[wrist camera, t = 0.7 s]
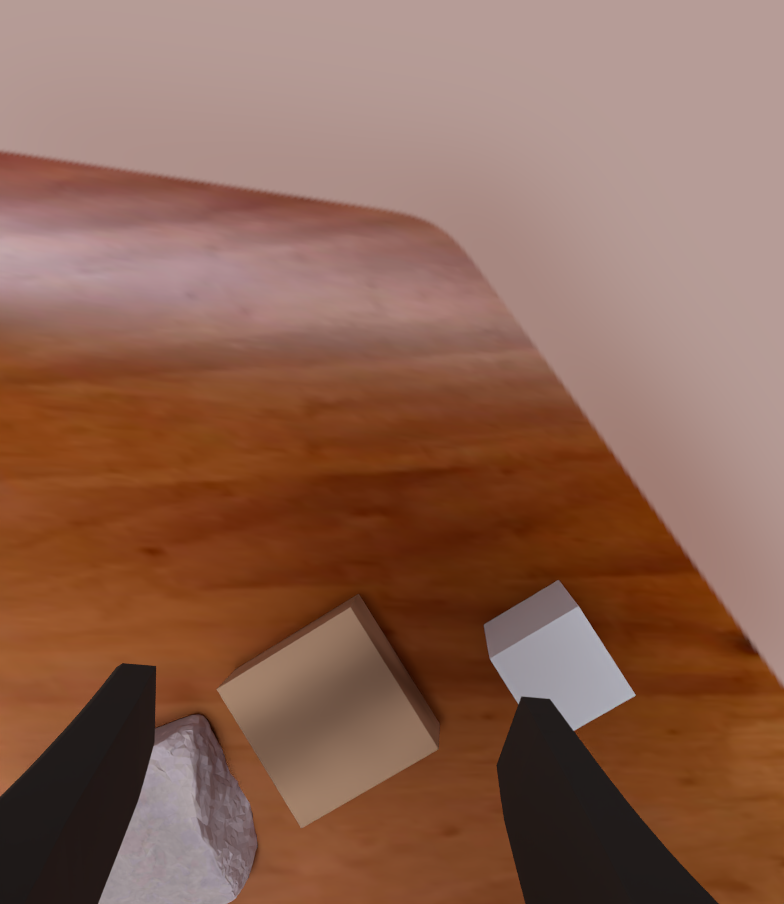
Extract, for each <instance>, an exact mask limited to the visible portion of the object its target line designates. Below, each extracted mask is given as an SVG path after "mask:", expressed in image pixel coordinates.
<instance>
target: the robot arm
mask: <svg viewBox="0 0 784 904" xmlns="http://www.w3.org/2000/svg"><path fill="white" fill-rule="evenodd" d="M155 696H156V666H148V665H136V664H124V663H122V664H121V665H119V666H118V667H116V669H115V670H114V671H113V672H112V674H111V675H110V676H109V678H108V679H107V680H106V681H105V683H104V684H103V685H102V686H101V688H100V689H99V690H98V691H97V693H96V694H95V695H94V696H93V697H92V699H91V700H90V701H89V702H88V703H87V705H86V706H85V707H84V708H83V709H82V710H81V712H80V713H79V714H78V715H77V716H76V717H75V719H74V720H73V721H72V722H71V723H70V724H69V725H68V727H67V728H66V729H65V730H64V731H63V732H62V733H61V734H60V735H59V736H58V737H57V739H56V740H55V741H54V742H53V743H52V744H51V745H50V746H49V747H48V748H47V749H46V750H45V752H44V753H43V754H42V755H41V756H40V757H39V758H38V759H37V760H36V761H35V762H34V763H33V764H32V765H31V767H30V768H29V769H28V770H27V771H26V772H25V773H24V774H23V775H22V776H21V777H20V778H19V779H18V780H17V781H16V782H15V783H14V784H13V785H12V786H11V787H10V788H9V789H8V790H7V791H6V792H5V793H4V794H3V795H2V796H0V904H98V903H99V900H100V898H101V895H102V893H103V890H104V888H105V885H106V882H107V880H108V877H109V875H110V872H111V870H112V867H113V865H114V862H115V859H116V857H117V854H118V852H119V849H120V847H121V844H122V842H123V839H124V836H125V834H126V831H127V829H128V826H129V823H130V821H131V818H132V816H133V813H134V811H135V808H136V805H137V803H138V800H139V797H140V793H141V790H142V786H143V783H144V779H145V776H146V772H147V769H148V765H149V761H150V757H151V754H152V750H153V746H154V743H155ZM497 772H498V779H499V787H500V795H501V802H502V808H503V815H504V821H505V825H506V829H507V833H508V837H509V841H510V845H511V849H512V853H513V857H514V861H515V865H516V869H517V873H518V877H519V880H520V884H521V888H522V892H523V896H524V900H525V904H718V903H717V902H716V901H715V900H714V899H713V897H712V896H711V895H710V894H709V893H708V892H707V891H706V890H705V889H704V888H703V887H702V886H701V885H700V884H699V883H698V882H697V881H696V880H695V879H694V878H693V877H692V876H691V875H690V873H689V872H688V871H687V870H686V869H685V868H684V867H683V866H682V865H681V864H680V863H679V862H678V861H677V859H676V858H675V857H674V856H673V855H672V854H671V853H670V852H669V851H668V849H667V848H666V847H665V846H664V845H663V844H662V842H661V841H660V840H659V839H658V838H657V837H656V835H655V834H654V833H653V832H652V831H651V830H650V828H649V827H648V826H647V825H646V824H645V823H644V821H643V820H642V819H641V818H640V817H639V815H638V814H637V813H636V812H635V811H634V809H633V808H632V807H631V806H630V804H629V803H628V802H627V801H626V799H625V798H624V797H623V795H622V794H621V793H620V792H619V790H618V789H617V788H616V787H615V785H614V784H613V783H612V781H611V780H610V779H609V778H608V776H607V775H606V774H605V772H604V771H603V770H602V768H601V767H600V766H599V765H598V763H597V762H596V761H595V759H594V758H593V756H592V755H591V754H590V752H589V751H588V750H587V748H586V747H585V746H584V744H583V743H582V742H581V740H580V739H579V738H578V736H577V735H576V733H575V732H574V731H573V729H572V728H571V727H570V725H569V724H568V723H567V721H566V720H565V719H564V717H563V716H562V714H561V713H560V712H559V710H558V709H557V708H556V706H555V705H554V704H553V702H552V701H551V700H550V699H546V698H534V697H522V696H521V699H520V702H519V704H518V707H517V710H516V713H515V716H514V718H513V721H512V724H511V727H510V730H509V732H508V735H507V738H506V741H505V744H504V746H503V749H502V752H501V755H500V758H499V760H498V763H497Z"/></svg>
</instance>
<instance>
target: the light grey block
mask: <svg viewBox="0 0 784 904" xmlns="http://www.w3.org/2000/svg"><path fill="white" fill-rule="evenodd" d="M484 630H485V635H486V641H487V647H488V652H489V658H490V660H491V662H492V663H493V665H494V666H495V668H496V670H497V671H498V673H499V674H500V676H501V678H502V679H503V681H504V682H505V684H506V685H507V687H508V689H509V690H510V692H511V693H512V695H513V696H514V698H515V700H516V701H517V703H518V704H519V702H520V699H521V696H522V697H534V698H546V699H550V700H551V701H552V702H553V704H554V705H555V706H556V708H557V709H558V710H559V712H560V713H561V714H562V716H563V717H564V719H565V720H566V721H567V723H568V724H569V725H570V727H571V728H572V729H573V731H574V730H576V729H578V728H579V727H581V726H583V725H585V724H586V723H588V722H590V721H592V720H593V719H595V718H597V717H599V716H601V715H602V714H604V713H606V712H608V711H609V710H611V709H613V708H615V707H616V706H618V705H620V704H622V703H623V702H625V701H627V700H629V699H630V698H632V697H634V696H636V695H635V693H634V692H633V690H632V689H631V687H630V686H629V684H628V682H627V681H626V679H625V678H624V676H623V675H622V673H621V672H620V670H619V668H618V667H617V665H616V664H615V662H614V661H613V659H612V657H611V656H610V654H609V653H608V651H607V650H606V648H605V647H604V645H603V643H602V642H601V640H600V639H599V637H598V636H597V634H596V632H595V631H594V629H593V628H592V626H591V625H590V623H589V622H588V620H587V618H586V617H585V615H584V614H583V612H582V611H581V609H580V607H579V606H578V605H577V603H576V602H575V601H574V599H573V598H572V597H571V595H570V594H569V593H568V591H567V590H566V589H565V588H564V586H563V585H562V584H561V582H560V581H559V580H557V581H556V582H554V583H552V584H551V585H549V586H547V587H546V588H544V589H542V590H541V591H539V592H537V593H536V594H534V595H532V596H531V597H529V598H527V599H526V600H524V601H522V602H521V603H519V604H517V605H516V606H514V607H512V608H511V609H509V610H507V611H506V612H504V613H502V614H501V615H499V616H497V617H496V618H494V619H492V620H491V621H489V622H487V623H486V624H484Z"/></svg>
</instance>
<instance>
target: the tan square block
mask: <svg viewBox="0 0 784 904" xmlns="http://www.w3.org/2000/svg"><path fill="white" fill-rule="evenodd" d="M217 691H218V692H219V694H220V695H221V697H222V699H223V700H224V702H225V704H226V705H227V707H228V709H229V710H230V712H231V714H232V715H233V717H234V718H235V720H236V722H237V723H238V725H239V727H240V728H241V730H242V732H243V733H244V735H245V737H246V738H247V740H248V741H249V743H250V745H251V746H252V748H253V750H254V751H255V753H256V755H257V756H258V758H259V760H260V761H261V763H262V764H263V766H264V768H265V769H266V771H267V773H268V774H269V776H270V778H271V779H272V781H273V783H274V784H275V786H276V787H277V789H278V791H279V792H280V794H281V796H282V797H283V799H284V801H285V802H286V804H287V806H288V807H289V809H290V810H291V812H292V814H293V815H294V817H295V819H296V820H297V822H298V824H299V825H300V827H301V828H303V827H305V826H306V825H308V824H310V823H312V822H313V821H315V820H317V819H318V818H320V817H322V816H324V815H325V814H327V813H329V812H331V811H332V810H334V809H336V808H338V807H339V806H341V805H343V804H344V803H346V802H348V801H350V800H351V799H353V798H355V797H357V796H358V795H360V794H362V793H364V792H365V791H367V790H369V789H370V788H372V787H374V786H376V785H377V784H379V783H381V782H383V781H384V780H386V779H388V778H390V777H391V776H393V775H395V774H397V773H398V772H400V771H402V770H403V769H405V768H407V767H409V766H410V765H412V764H414V763H416V762H417V761H419V760H421V759H423V758H424V757H426V756H428V755H429V754H431V753H433V752H435V751H436V750H438V749H439V731H440V723H439V722H438V720H437V719H436V717H435V715H434V714H433V712H432V711H431V709H430V707H429V706H428V704H427V702H426V701H425V699H424V698H423V696H422V694H421V693H420V691H419V690H418V688H417V686H416V685H415V683H414V682H413V680H412V678H411V677H410V675H409V674H408V672H407V670H406V669H405V667H404V666H403V664H402V662H401V661H400V659H399V658H398V656H397V654H396V653H395V651H394V650H393V648H392V646H391V645H390V643H389V642H388V640H387V638H386V637H385V635H384V634H383V632H382V630H381V629H380V627H379V626H378V624H377V622H376V621H375V619H374V618H373V616H372V614H371V613H370V611H369V609H368V608H367V606H366V605H365V603H364V601H363V600H362V598H361V597H360V595H359V594H357V595H356V596H354V597H353V598H351V599H349V600H348V601H346V602H344V603H343V604H341V605H340V606H338V607H336V608H335V609H333V610H331V611H330V612H328V613H327V614H325V615H323V616H322V617H320V618H318V619H317V620H315V621H314V622H312V623H310V624H309V625H307V626H305V627H304V628H302V629H300V630H299V631H297V632H296V633H294V634H292V635H291V636H289V637H287V638H286V639H284V640H283V641H281V642H279V643H278V644H276V645H274V646H273V647H271V648H270V649H268V650H266V651H265V652H263V653H261V654H260V655H258V656H257V657H255V658H253V659H252V660H250V661H248V662H247V663H245V664H243V665H242V666H240V667H239V668H237V669H235V670H234V671H233V672H232V673H231V675H230V676H229V677H228V678H227V679H226V680H225V681H224V682H223V683H222V684H221V685H220V686H219V687H218V688H217Z"/></svg>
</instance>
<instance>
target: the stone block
mask: <svg viewBox="0 0 784 904" xmlns="http://www.w3.org/2000/svg"><path fill="white" fill-rule="evenodd" d="M257 846H258V845H257V836H256V833H255V830H254V824H253V818H252V811H251V807H250V803H249V801H248V800H247V799H246V797H245V795H244V794H243V792H242V791H241V789H240V787H239V786H238V782H237V780H236V779H235V778H234V777H233V776H232V775H231V774H230V772H229V769H228V766H227V764H226V762H225V756H224V754H223V750H222V748H221V746H220V745H219V743H218V741H217V739H216V737H215V735H214V733H213V732H212V730H211V727H210V724H209V722H208V721H207V719H206V718H205V717H204V716H203V715H190V716H188V717H185V718H181V719H179V720H176V721H174V722H171V723H169V724H166V725H164V726H161V727H158V728H155V743H154V746H153V750H152V754H151V757H150V761H149V765H148V769H147V772H146V776H145V779H144V783H143V786H142V790H141V793H140V797H139V800H138V803H137V805H136V808H135V811H134V813H133V816H132V818H131V821H130V823H129V826H128V829H127V831H126V834H125V836H124V839H123V842H122V844H121V847H120V849H119V852H118V854H117V857H116V859H115V862H114V865H113V867H112V870H111V872H110V875H109V877H108V880H107V882H106V885H105V888H104V890H103V893H102V895H101V898H100V900H99V903H98V904H227V903H229V902H231V901H233V900H234V899H235V898H237V895H238V894H239V893H240V891H241V890H242V888H243V887H244V885H245V883H246V881H247V879H248V878H249V873H250V872H251V867H252V865H253V861H254V857H255V851H256V849H257Z"/></svg>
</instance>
